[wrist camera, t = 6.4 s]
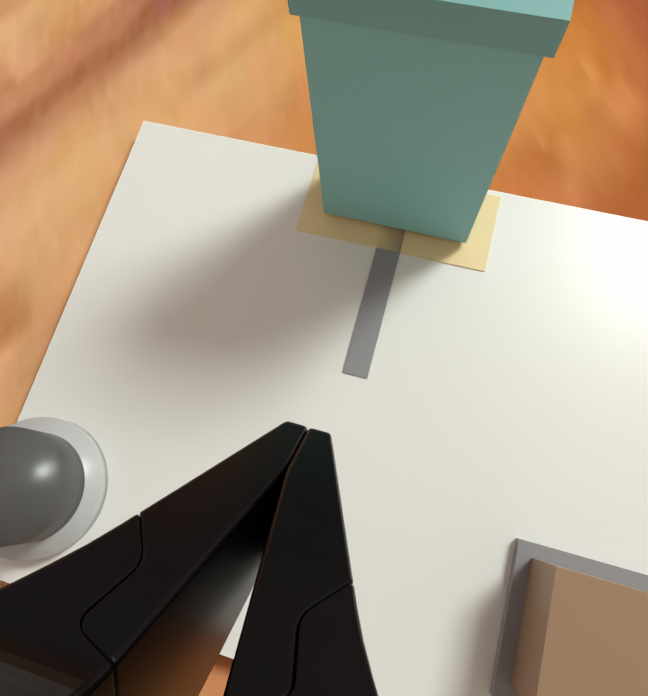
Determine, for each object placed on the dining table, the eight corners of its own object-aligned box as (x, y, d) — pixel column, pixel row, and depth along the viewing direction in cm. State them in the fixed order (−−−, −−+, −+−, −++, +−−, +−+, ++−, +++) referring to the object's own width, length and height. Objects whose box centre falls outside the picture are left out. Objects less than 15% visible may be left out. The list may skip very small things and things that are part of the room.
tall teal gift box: (470, 247, 22) (570, 20, 11) (318, 214, 22) (284, -24, 12) (483, 188, 22) (589, -76, 12) (336, 158, 23) (317, -112, 13)
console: (692, 804, 17) (777, 883, 14) (-43, 558, 21) (-123, 570, 17) (740, 251, 22) (811, 206, 19) (138, 129, 26) (104, 72, 22)
